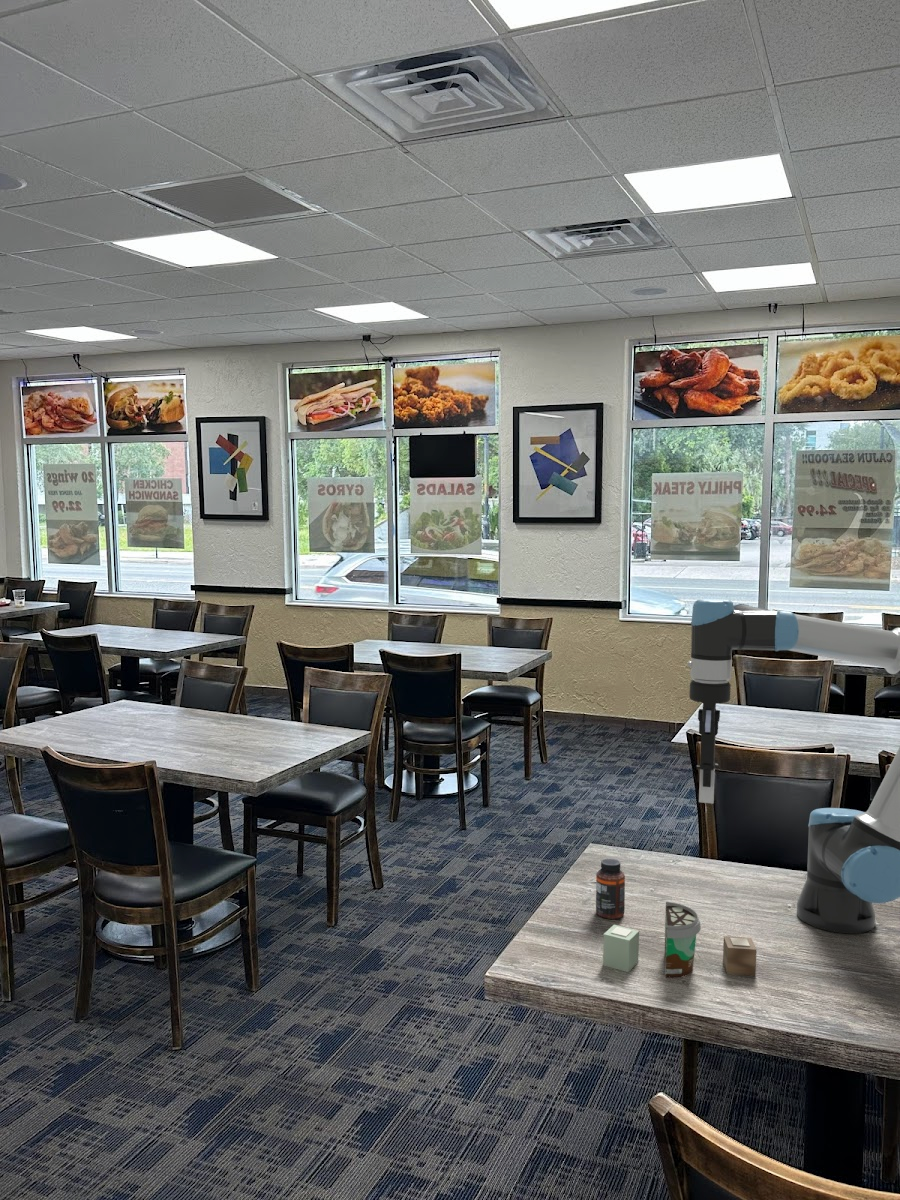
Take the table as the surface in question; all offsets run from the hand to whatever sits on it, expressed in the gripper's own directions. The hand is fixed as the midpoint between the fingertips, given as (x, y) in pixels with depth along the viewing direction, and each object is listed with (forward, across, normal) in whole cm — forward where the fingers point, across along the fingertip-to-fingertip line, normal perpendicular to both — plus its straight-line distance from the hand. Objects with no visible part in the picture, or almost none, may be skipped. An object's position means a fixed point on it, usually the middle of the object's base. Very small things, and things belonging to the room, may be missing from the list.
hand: (706, 801), depth 181 cm
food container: (+29, +11, -3) cm, 31 cm away
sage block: (+29, +13, -14) cm, 34 cm away
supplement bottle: (+29, -9, -19) cm, 36 cm away
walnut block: (+29, +8, +7) cm, 30 cm away
